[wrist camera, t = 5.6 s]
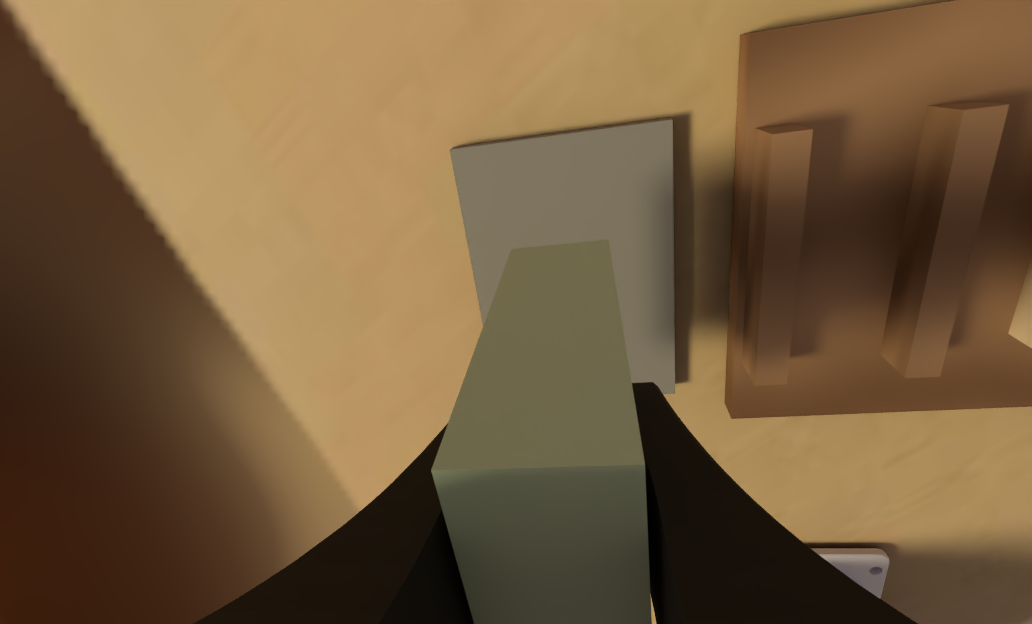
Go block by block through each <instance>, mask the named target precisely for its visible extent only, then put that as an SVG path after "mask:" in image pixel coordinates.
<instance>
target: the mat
mask: <svg viewBox="0 0 1032 624" xmlns="http://www.w3.org/2000/svg"><path fill="white" fill-rule="evenodd" d="M450 154H451V159H452V164H453V169H454V175H455V180H456V185H457V191H458V196H459V201H460V206H461V212H462V217H463V222H464V227H465V233H466V238H467V243H468V248H469V254H470V259H471V264H472V270H473V275H474V280H475V285H476V291H477V296H478V301H479V306H480V312H481V317H482V322H483V326H484V323H485V320H486V318H487V315H488V312H489V309H490V306H491V304H492V301H493V298H494V295H495V293H496V290H497V287H498V284H499V282H500V279H501V276H502V273H503V271H504V268H505V265H506V262H507V260H508V257H509V254H510V251H511V249H517V248H527V247H537V246H547V245H557V244H567V243H577V242H587V241H597V240H607V239H608V241H609V247H610V253H611V259H612V265H613V271H614V277H615V283H616V290H617V296H618V302H619V308H620V314H621V320H622V326H623V332H624V339H625V345H626V351H627V357H628V363H629V369H630V375H631V382H632V383H643V382H653V383H655V384H656V385H657V386H658V387H659V389H660V390H661V392H662V394H675V321H674V208H673V119H671V118H663V119H656V120H648V121H641V122H634V123H626V124H619V125H612V126H604V127H597V128H590V129H582V130H575V131H568V132H560V133H553V134H546V135H538V136H531V137H524V138H516V139H509V140H502V141H494V142H487V143H479V144H472V145H465V146H457V147H453V148H452V149H450Z"/></svg>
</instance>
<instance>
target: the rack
mask: <svg viewBox="0 0 1032 624" xmlns="http://www.w3.org/2000/svg"><path fill="white" fill-rule="evenodd" d="M1031 258H1032V0H954V1H948V2H941V3H935V4H929V5H923V6H916V7H910V8H904V9H897V10H891V11H885V12H878V13H872V14H866V15H859V16H853V17H847V18H841V19H834V20H828V21H822V22H815V23H809V24H803V25H796V26H790V27H784V28H778V29H771V30H765V31H759V32H752V33H747V34H742V35H740V49H739V73H738V97H737V121H736V145H735V169H734V193H733V217H732V241H731V265H730V289H729V313H728V337H727V361H726V385H725V405H726V407H727V409H728V412H729V414H730V416H731V419H736V418H761V417H785V416H810V415H834V414H858V413H883V412H907V411H931V410H956V409H980V408H1004V407H1029V406H1032V348H1030V347H1029V346H1027V345H1025V344H1024V343H1022V342H1021V341H1019V340H1017V339H1016V338H1014V337H1013V336H1011V335H1009V334H1008V333H1009V329H1010V326H1011V323H1012V320H1013V316H1014V313H1015V310H1016V307H1017V304H1018V300H1019V297H1020V294H1021V291H1022V287H1023V284H1024V281H1025V278H1026V274H1027V271H1028V268H1029V265H1030V261H1031Z"/></svg>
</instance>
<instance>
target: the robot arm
mask: <svg viewBox="0 0 1032 624" xmlns="http://www.w3.org/2000/svg"><path fill="white" fill-rule="evenodd" d="M632 388H633V394H634V400H635V406H636V412H637V418H638V424H639V431H640V437H641V443H642V449H643V455H644V461H645V476H646V500H647V524H648V549H649V573H650V593H651V598H652V602H653V607H654V612H655V617H656V623H657V624H917V623H916V622H914V621H913V620H911V619H910V618H908V617H906V616H905V615H903V614H902V613H900V612H899V611H897V610H896V609H894V608H893V607H891V606H890V605H889V604H887V603H886V602H884V601H883V600H881V595H882V591H883V587H884V583H885V579H886V575H887V571H888V567H889V563H890V559H889V558H888V556H887V554H886V553H885V552H884V551H883V550H881V549H877V548H809V547H808V546H807V545H805V544H804V543H803V542H801V541H800V540H799V539H798V538H797V537H796V536H794V535H793V534H792V533H791V532H790V531H788V530H787V529H786V528H785V527H784V526H782V525H781V524H780V523H779V522H778V521H776V520H775V519H774V518H773V517H772V516H771V515H770V514H769V513H767V512H766V511H765V510H764V509H763V508H762V507H761V506H760V505H759V504H757V503H756V502H755V501H754V500H753V499H752V498H751V497H750V496H749V495H748V494H747V493H746V492H745V491H744V490H743V489H742V488H741V487H740V486H739V485H738V484H737V483H736V482H735V481H734V480H733V479H732V478H731V477H730V476H729V475H728V474H727V473H726V472H725V471H724V470H723V469H722V468H721V467H720V466H719V465H718V464H717V463H716V461H715V460H714V459H713V458H712V457H711V456H710V455H709V454H708V453H707V451H706V450H705V449H704V448H703V447H702V445H701V444H700V443H699V442H698V441H697V439H696V438H695V437H694V436H693V435H692V434H691V432H690V431H689V430H688V429H687V427H686V426H685V425H684V424H683V422H682V421H681V420H680V418H679V417H678V416H677V414H676V413H675V412H674V410H673V409H672V407H671V406H670V404H669V403H668V402H667V400H666V399H665V397H664V395H663V394H662V392H661V390H660V389H659V387H658V386H657V385H656V384H655V383H653V382H643V383H632ZM447 425H448V424H447ZM447 425H446V426H445V427H444V428H443V429H442V431H441V432H440V433H439V434H438V435H437V436H436V437H435V438H434V440H433V441H432V442H431V443H430V444H429V445H428V446H427V447H426V448H425V450H424V451H423V452H422V453H421V454H420V455H419V456H418V457H417V458H416V459H415V460H414V461H413V462H412V463H411V464H410V465H409V466H408V467H407V468H406V469H405V470H404V471H403V472H402V473H401V474H400V475H399V476H398V477H397V478H396V480H395V481H394V482H393V483H392V484H390V485H389V486H388V487H387V488H386V489H385V490H384V491H383V492H382V493H381V494H380V495H379V496H377V497H376V498H375V499H374V500H373V501H372V502H371V503H369V504H368V505H367V506H366V507H365V508H364V509H362V510H361V511H360V512H359V513H358V514H356V515H355V516H354V517H353V518H352V519H351V520H349V521H348V522H347V523H346V524H344V525H343V526H342V527H341V528H339V529H338V530H336V531H335V532H334V533H333V534H331V535H330V536H329V537H327V538H326V539H324V540H323V541H322V542H320V543H319V544H318V545H316V546H315V547H313V548H312V549H311V550H309V551H308V552H307V553H305V554H304V555H303V556H301V557H300V558H299V559H298V560H296V561H295V562H293V563H292V564H290V565H289V566H287V567H286V568H284V569H283V570H281V571H280V572H278V573H276V574H275V575H273V576H272V577H270V578H269V579H267V580H266V581H264V582H263V583H261V584H260V585H258V586H256V587H255V588H253V589H252V590H250V591H248V592H247V593H245V594H244V595H242V596H240V597H239V598H238V599H235V600H234V601H232V602H230V603H229V604H227V605H225V606H224V607H222V608H220V609H219V610H217V611H215V612H213V613H212V614H210V615H208V616H206V617H204V618H203V619H201V620H199V621H197V622H195V623H194V624H474V622H473V618H472V614H471V611H470V607H469V604H468V600H467V597H466V593H465V589H464V586H463V582H462V579H461V575H460V572H459V568H458V565H457V561H456V557H455V554H454V550H453V547H452V543H451V540H450V536H449V532H448V529H447V525H446V522H445V518H444V515H443V511H442V508H441V504H440V500H439V497H438V493H437V490H436V486H435V483H434V479H433V475H432V472H431V469H432V467H433V464H434V461H435V458H436V456H437V453H438V450H439V447H440V445H441V442H442V439H443V436H444V434H445V431H446V428H447Z"/></svg>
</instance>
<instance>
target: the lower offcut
mask: <svg viewBox="0 0 1032 624" xmlns="http://www.w3.org/2000/svg"><path fill="white" fill-rule="evenodd" d="M1008 334H1009V335H1011V336H1013V337H1014V338H1016V339H1017V340H1019V341H1021V342H1022V343H1024V344H1025V345H1027V346H1029V347H1030V348H1032V258H1031V261H1030V265H1029V268H1028V271H1027V274H1026V278H1025V281H1024V284H1023V287H1022V291H1021V294H1020V297H1019V300H1018V304H1017V307H1016V310H1015V313H1014V316H1013V320H1012V323H1011V326H1010V329H1009V333H1008Z"/></svg>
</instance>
